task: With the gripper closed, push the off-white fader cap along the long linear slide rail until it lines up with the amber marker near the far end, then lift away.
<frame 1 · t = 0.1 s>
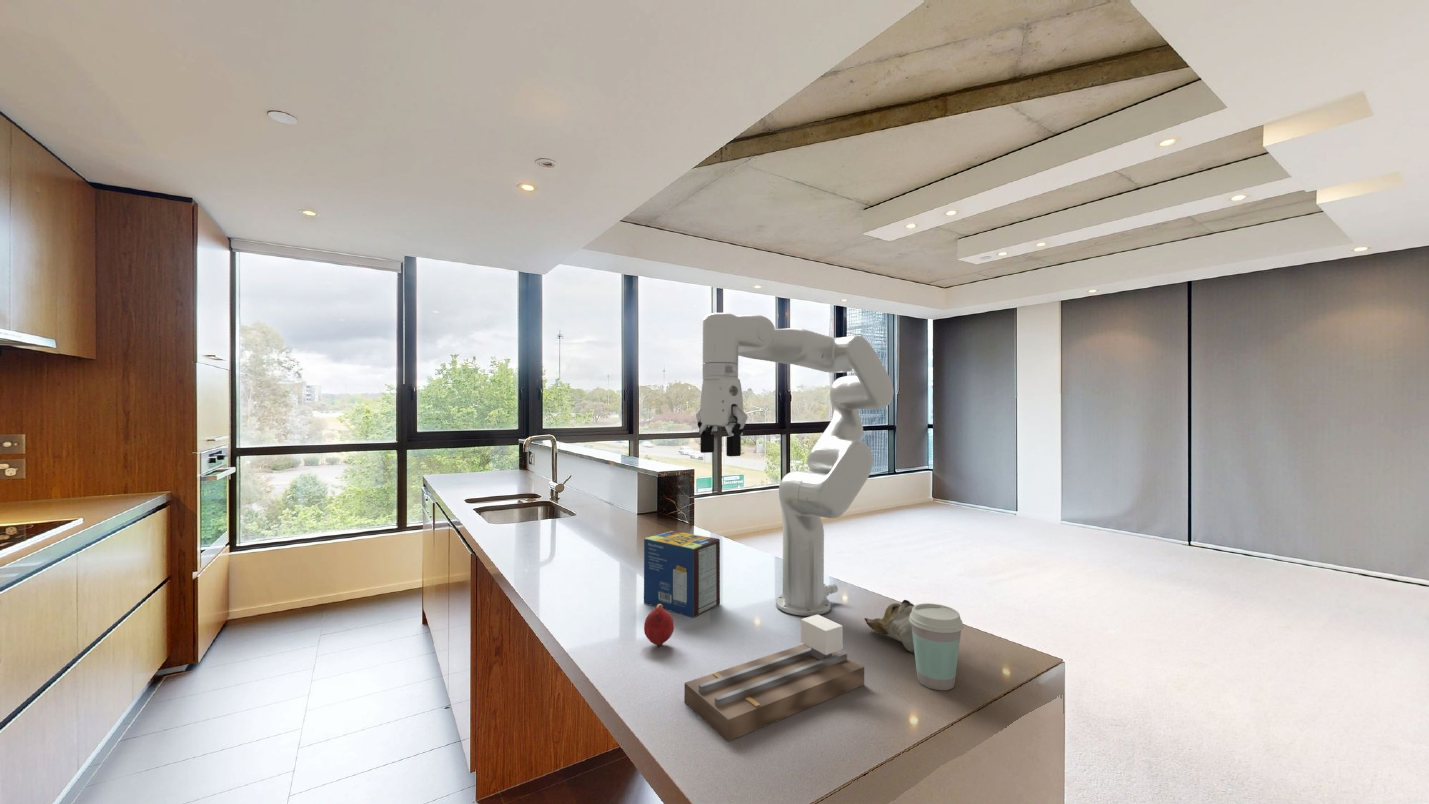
hand: (719, 454, 113), 37 cm above the counter, fingers open, 9 cm apart
protein box: (681, 604, 128), on the counter
linear slide rail: (777, 693, 88), on the counter
ceramic sculpture: (904, 643, 108), on the counter
fader: (821, 639, 94), point 6 cm above the counter, slide at 0.0 cm
onion: (658, 646, 105), on the counter
coffee cup: (935, 682, 92), on the counter
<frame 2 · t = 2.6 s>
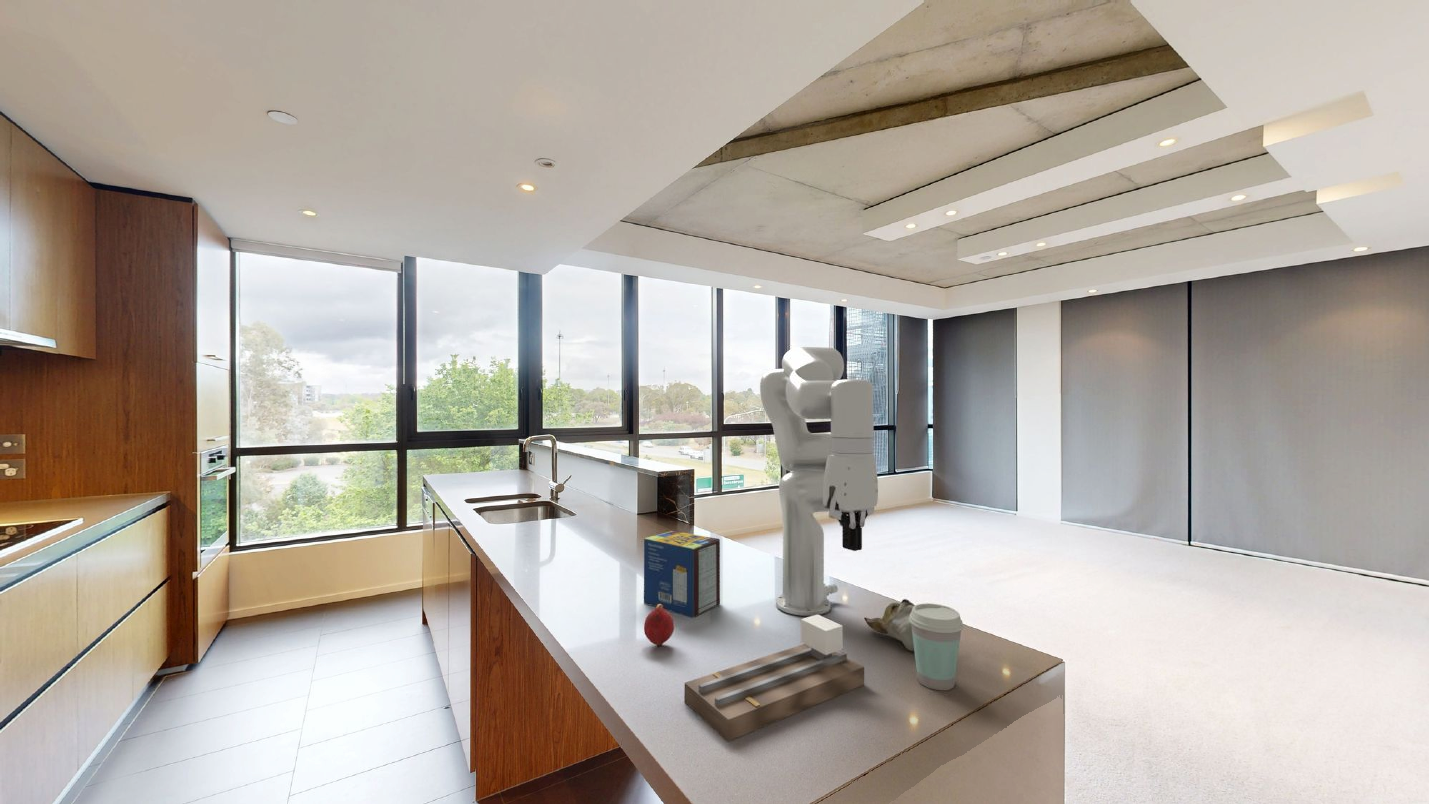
hand: (852, 548, 98), 21 cm above the counter, fingers closed
nothing on the counter moved.
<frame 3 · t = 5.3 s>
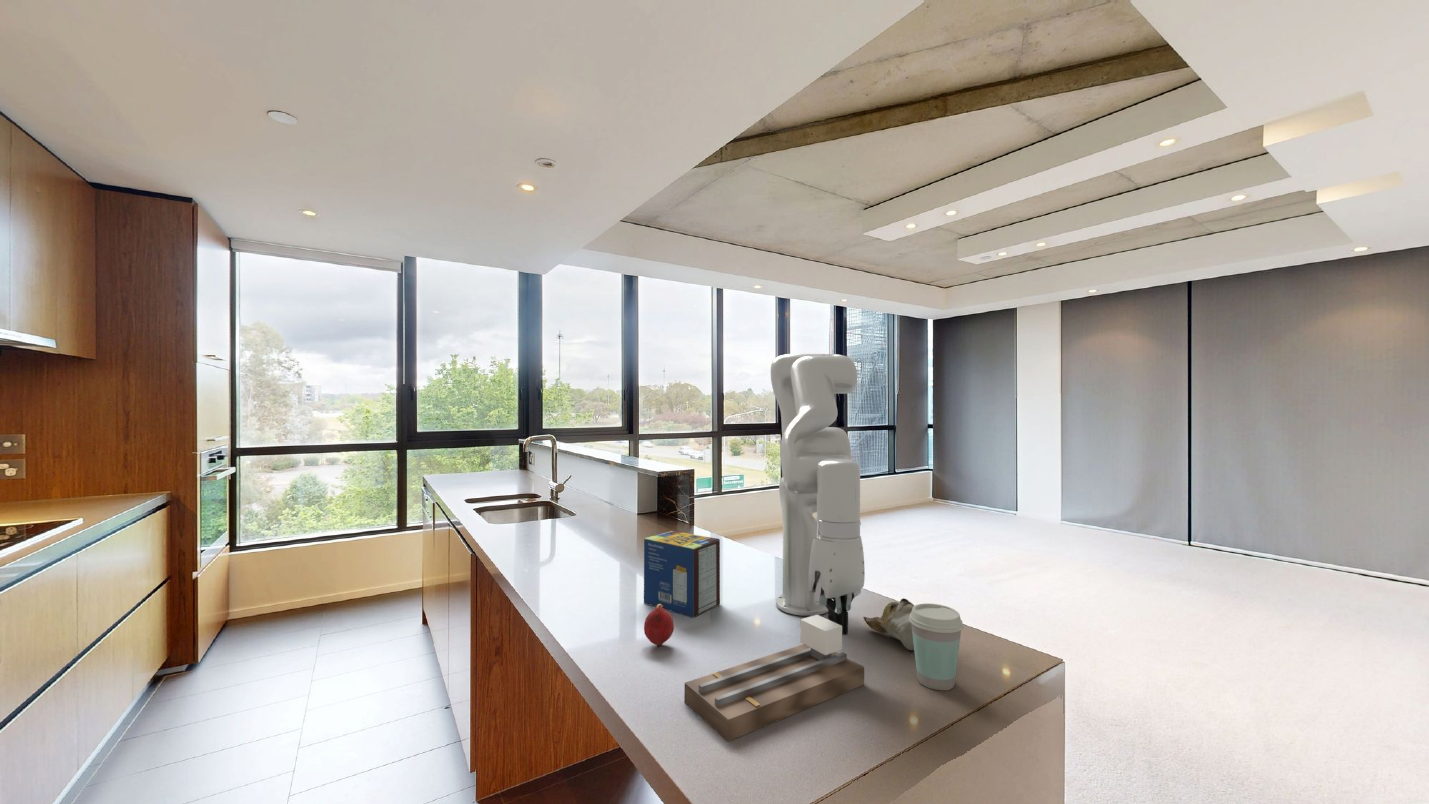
hand: (838, 632, 96), 7 cm above the counter, fingers closed
fader: (821, 639, 93), point 6 cm above the counter, slide at 0.1 cm, touching gripper
everything else where it was.
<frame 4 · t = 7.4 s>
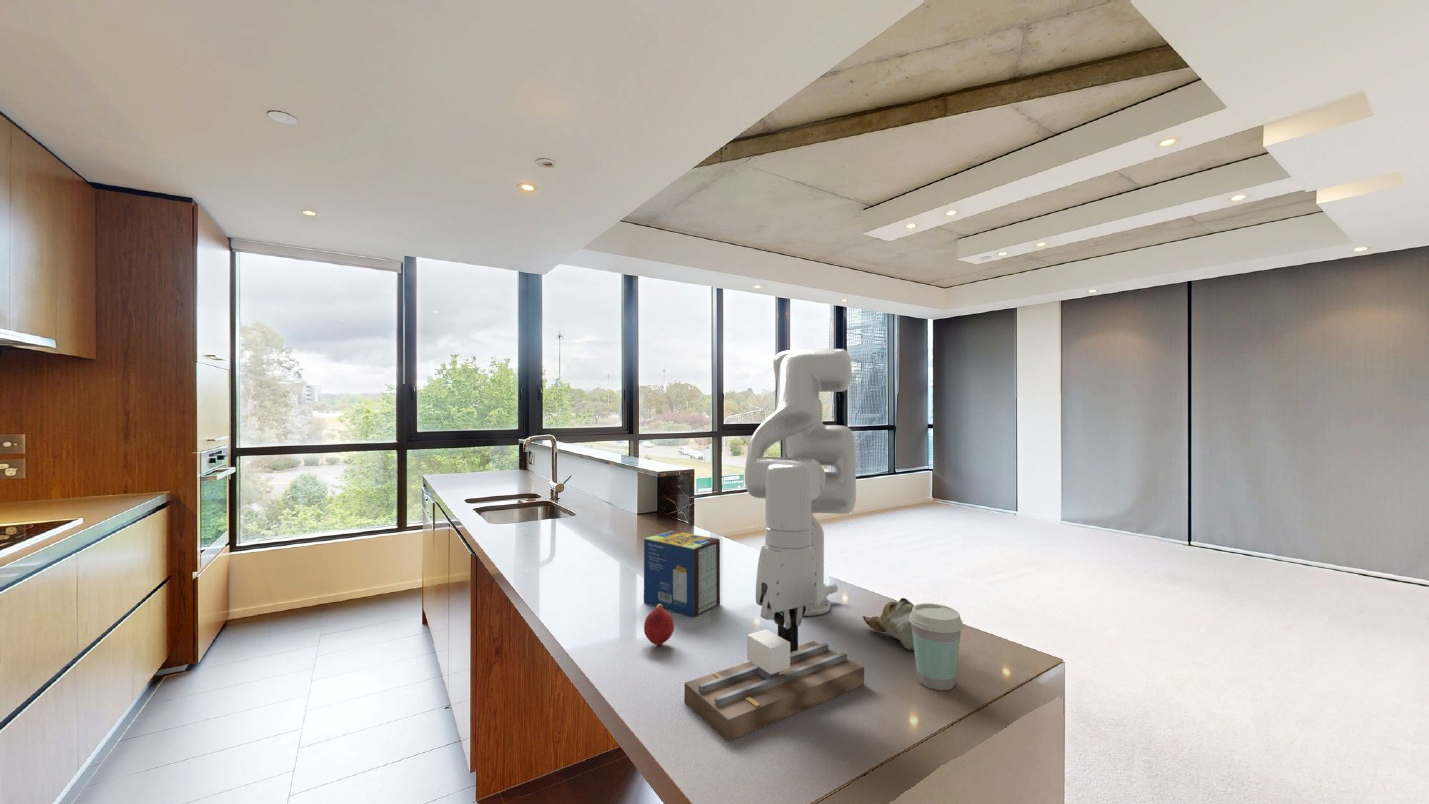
hand: (787, 648, 89), 7 cm above the counter, fingers closed
fader: (768, 657, 87), point 6 cm above the counter, slide at 11.9 cm, touching gripper
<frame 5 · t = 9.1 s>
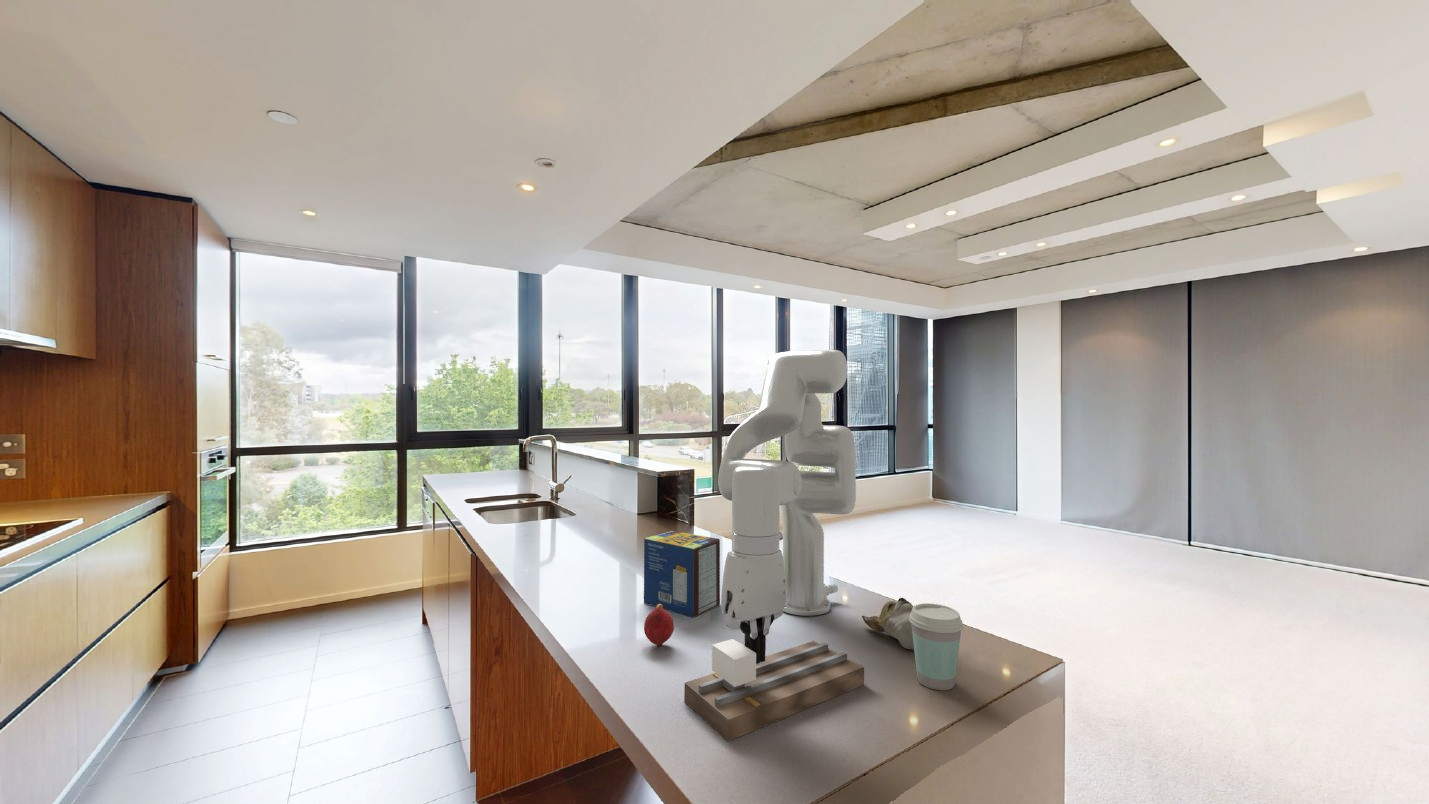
hand: (755, 659, 85), 7 cm above the counter, fingers closed
fader: (733, 668, 83), point 6 cm above the counter, slide at 18.8 cm, touching gripper
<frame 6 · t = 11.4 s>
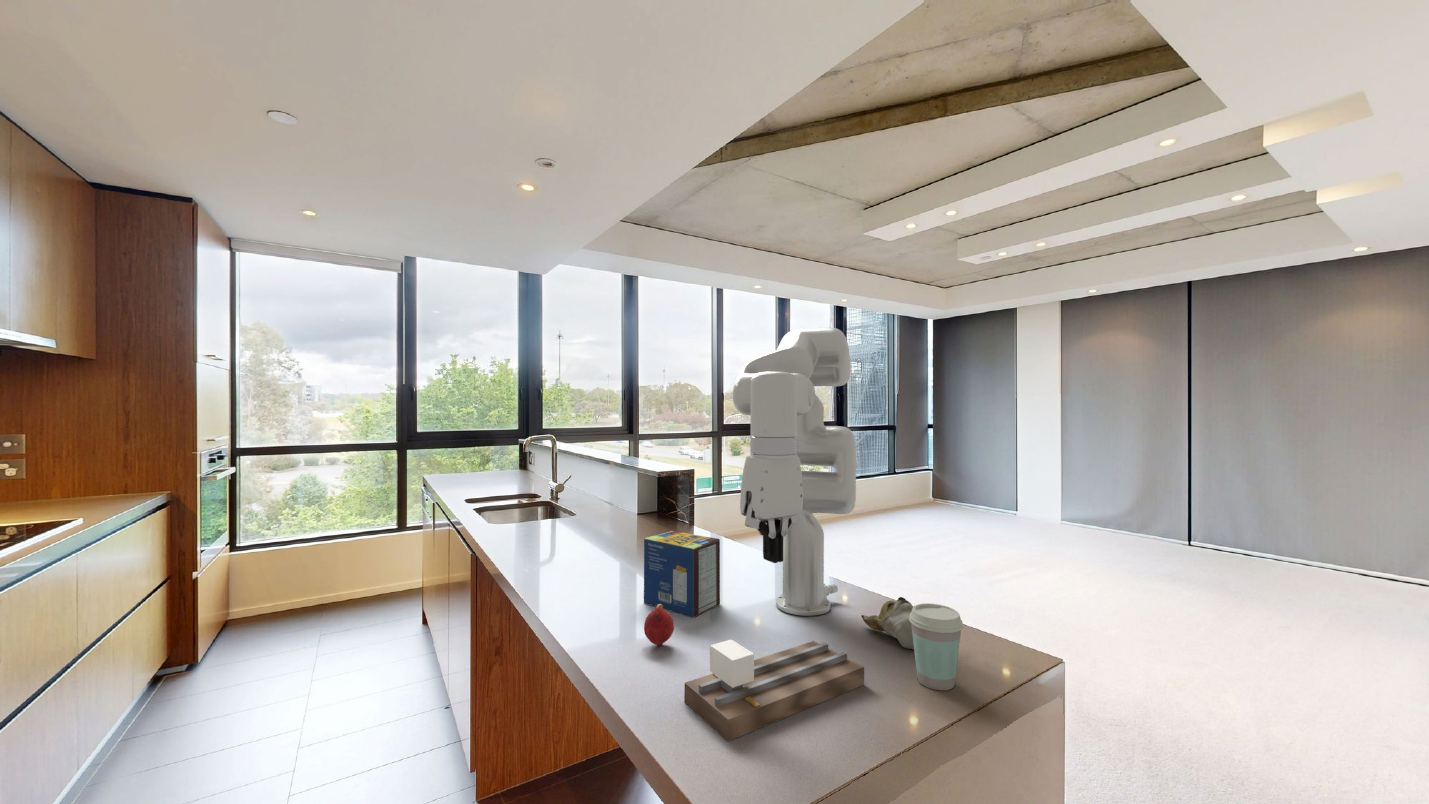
hand: (773, 560, 88), 22 cm above the counter, fingers closed
fader: (731, 669, 83), point 6 cm above the counter, slide at 19.2 cm
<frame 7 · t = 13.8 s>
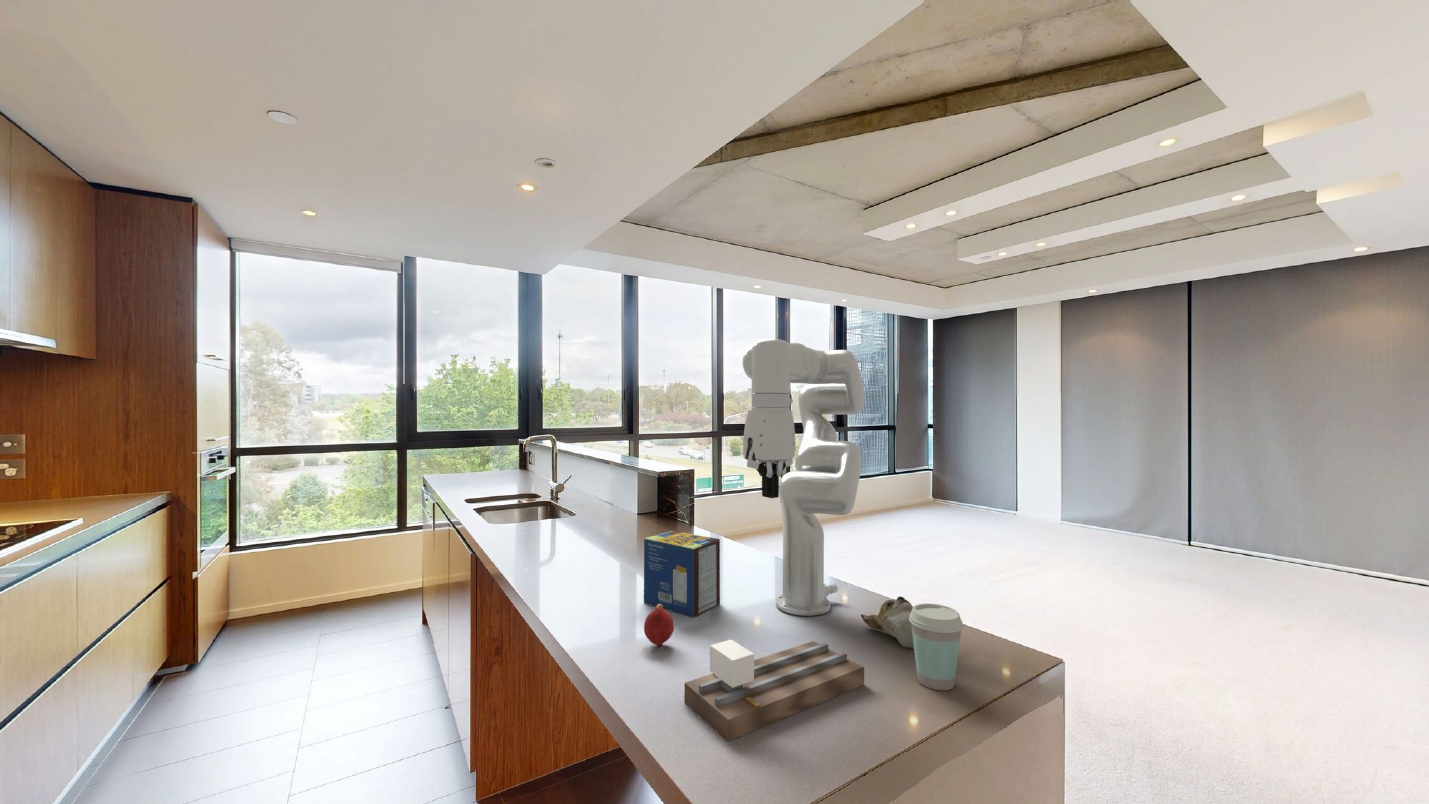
hand: (770, 496, 105), 29 cm above the counter, fingers closed
at the end: fader slide at 19.2 cm; the gripper is holding nothing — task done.
